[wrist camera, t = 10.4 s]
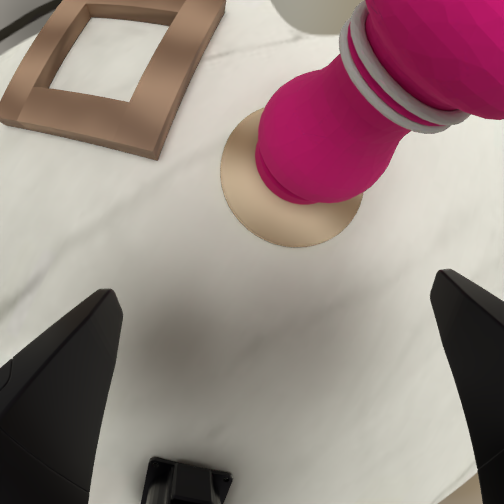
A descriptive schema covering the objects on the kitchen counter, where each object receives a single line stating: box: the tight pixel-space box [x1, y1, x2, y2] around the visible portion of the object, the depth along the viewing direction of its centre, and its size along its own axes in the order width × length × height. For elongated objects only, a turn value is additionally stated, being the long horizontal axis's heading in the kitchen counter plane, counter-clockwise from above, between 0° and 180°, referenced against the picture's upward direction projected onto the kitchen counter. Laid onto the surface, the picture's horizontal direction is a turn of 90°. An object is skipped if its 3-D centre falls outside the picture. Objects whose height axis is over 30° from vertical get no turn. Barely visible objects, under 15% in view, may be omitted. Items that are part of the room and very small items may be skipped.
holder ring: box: [0, 0, 226, 160], centre depth 18 cm, size 14×14×2 cm
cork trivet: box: [220, 108, 363, 247], centre depth 21 cm, size 10×10×1 cm
